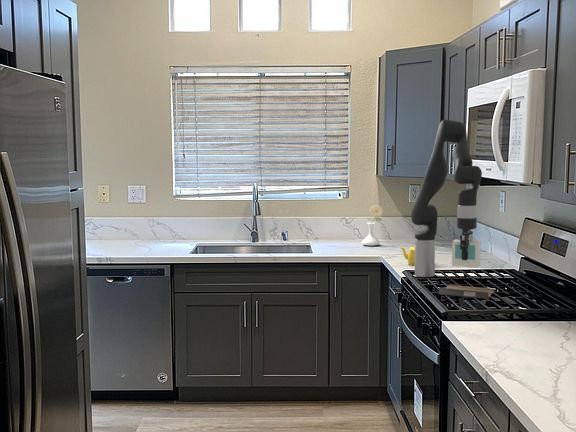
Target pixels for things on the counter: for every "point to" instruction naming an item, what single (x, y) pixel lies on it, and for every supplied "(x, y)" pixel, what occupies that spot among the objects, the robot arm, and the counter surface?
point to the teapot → (410, 255)
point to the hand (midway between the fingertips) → (466, 258)
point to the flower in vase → (371, 239)
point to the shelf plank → (466, 291)
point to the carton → (472, 254)
